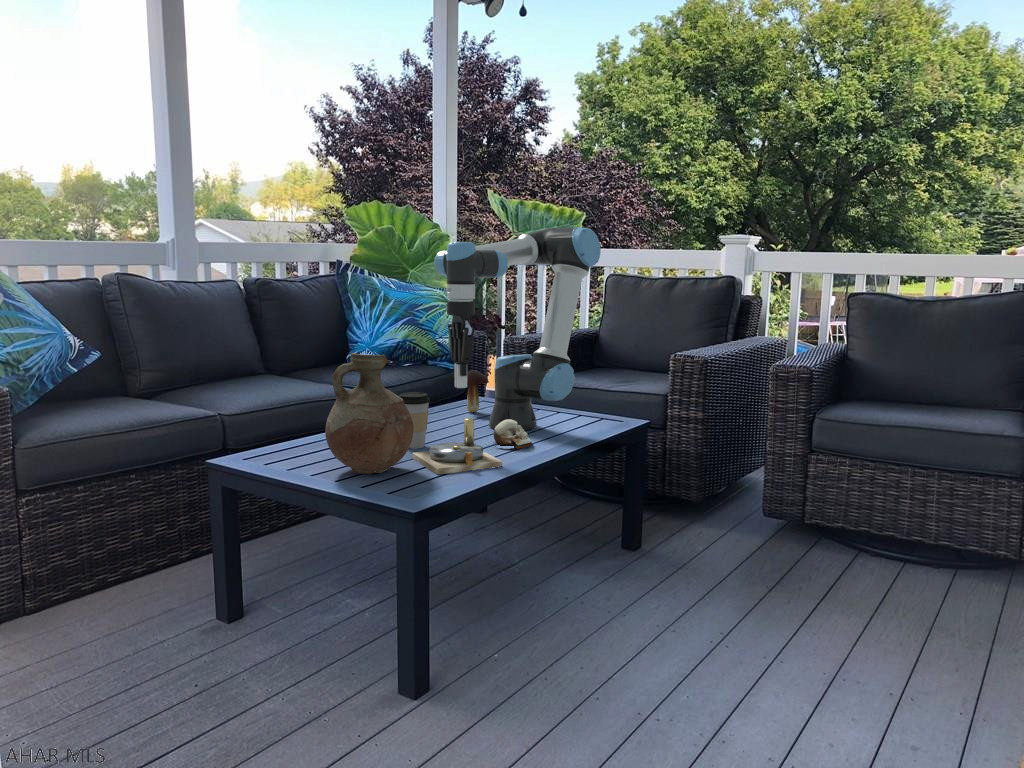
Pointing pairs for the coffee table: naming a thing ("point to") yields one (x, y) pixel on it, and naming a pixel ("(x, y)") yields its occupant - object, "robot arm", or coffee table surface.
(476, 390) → the decorative mushroom
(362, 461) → the jug
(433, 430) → the coffee table surface
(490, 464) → the base plate
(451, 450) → the turntable
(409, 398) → the coffee cup
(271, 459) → the coffee table surface
